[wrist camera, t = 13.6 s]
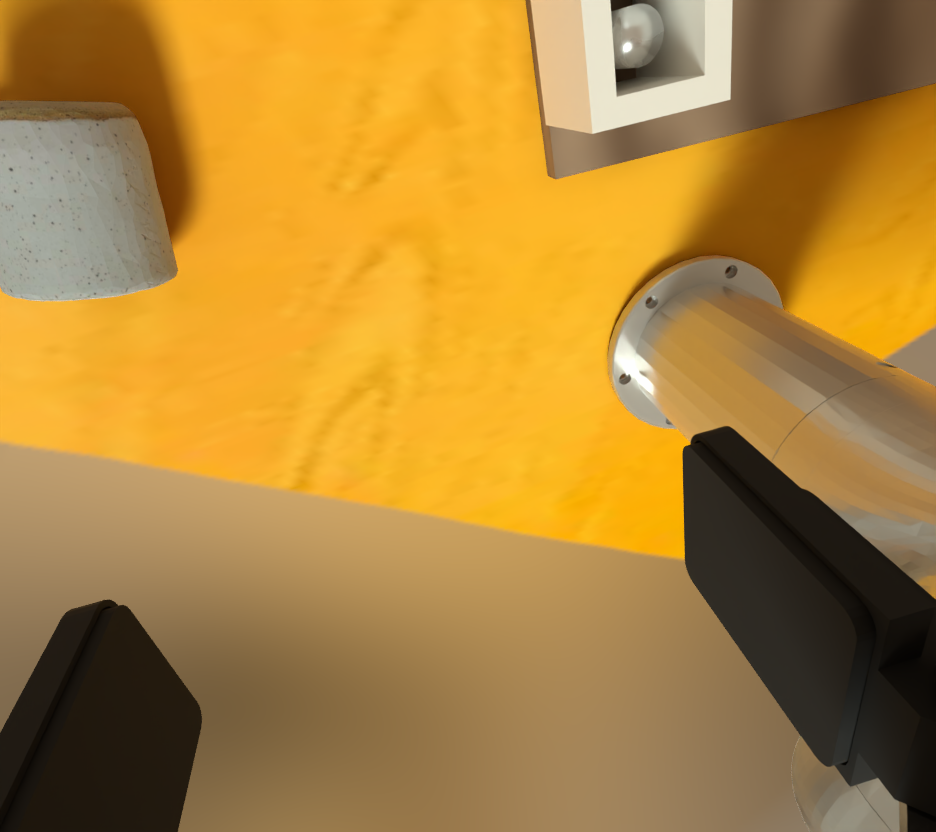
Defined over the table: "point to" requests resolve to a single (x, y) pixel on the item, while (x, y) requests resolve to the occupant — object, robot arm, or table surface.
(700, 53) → the cream housing
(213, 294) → the table surface
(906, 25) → the walnut board
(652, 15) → the metal stub
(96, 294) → the ceramic mug
